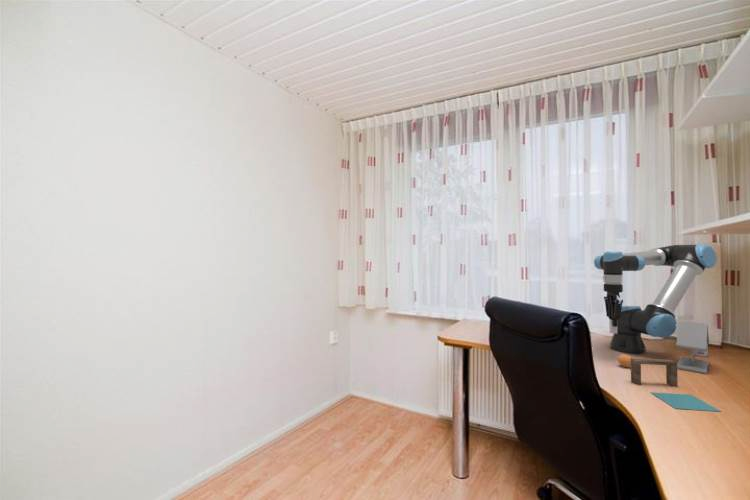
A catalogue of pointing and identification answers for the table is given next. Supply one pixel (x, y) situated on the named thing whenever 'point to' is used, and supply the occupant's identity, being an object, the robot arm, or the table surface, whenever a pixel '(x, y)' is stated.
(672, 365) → the bridge
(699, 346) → the folded metal stand
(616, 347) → the robot arm
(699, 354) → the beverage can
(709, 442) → the table surface
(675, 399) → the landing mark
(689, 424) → the table surface
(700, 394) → the table surface
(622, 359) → the ball
